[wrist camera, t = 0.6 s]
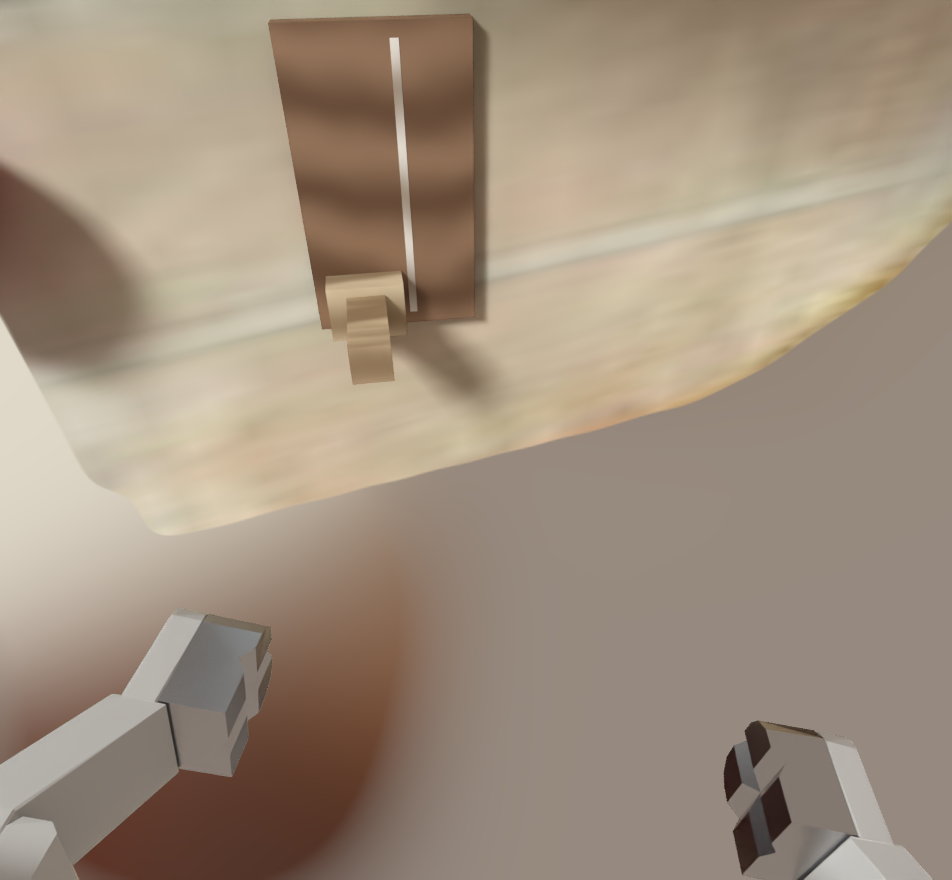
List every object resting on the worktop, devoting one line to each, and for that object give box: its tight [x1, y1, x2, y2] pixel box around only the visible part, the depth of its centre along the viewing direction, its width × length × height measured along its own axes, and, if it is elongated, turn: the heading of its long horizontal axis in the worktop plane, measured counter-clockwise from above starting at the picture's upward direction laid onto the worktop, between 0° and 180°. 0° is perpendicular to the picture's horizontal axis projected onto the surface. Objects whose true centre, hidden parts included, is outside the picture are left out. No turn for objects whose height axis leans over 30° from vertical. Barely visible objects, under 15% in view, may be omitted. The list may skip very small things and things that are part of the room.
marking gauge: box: [325, 271, 407, 385], centre depth 51 cm, size 4×6×10 cm
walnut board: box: [268, 14, 475, 329], centre depth 50 cm, size 22×13×2 cm, turn 0°
